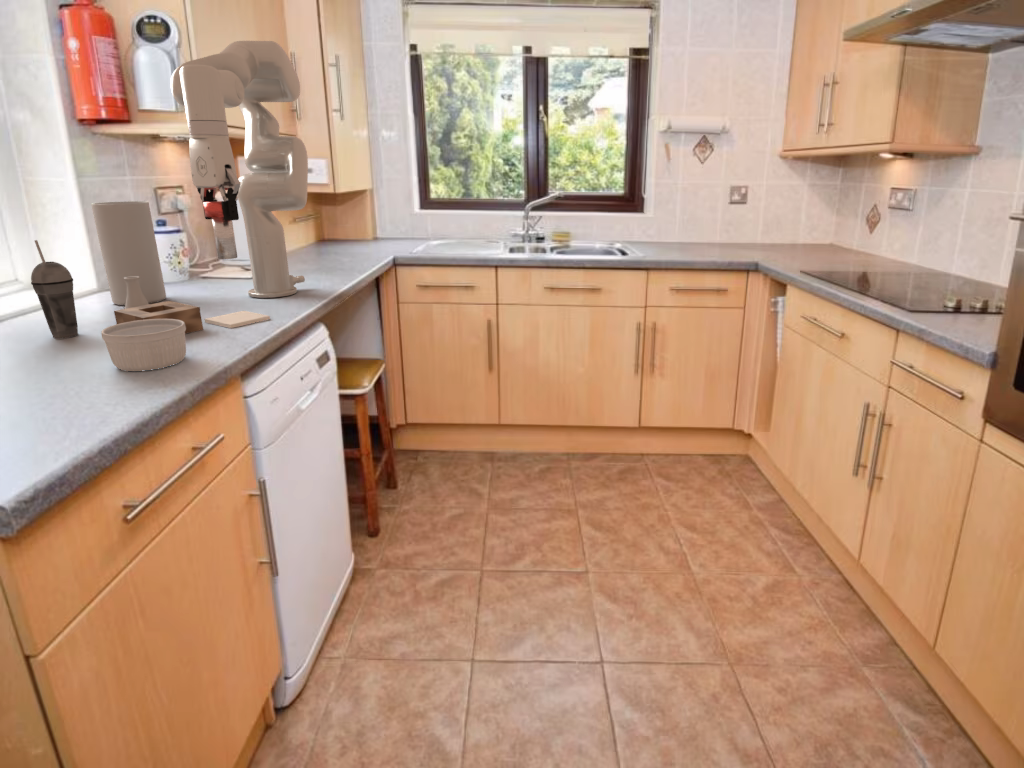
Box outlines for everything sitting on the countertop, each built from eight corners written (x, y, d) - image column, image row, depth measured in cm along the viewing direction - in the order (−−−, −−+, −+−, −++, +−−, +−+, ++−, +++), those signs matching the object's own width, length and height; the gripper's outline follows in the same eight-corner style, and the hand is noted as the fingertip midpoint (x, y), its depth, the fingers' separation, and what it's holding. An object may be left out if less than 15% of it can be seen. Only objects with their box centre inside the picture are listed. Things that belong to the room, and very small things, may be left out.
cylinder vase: (108, 308, 162) (86, 205, 154) (116, 298, 173) (96, 202, 164) (164, 303, 166) (145, 203, 158) (168, 294, 177) (151, 200, 169)
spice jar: (206, 258, 142) (197, 202, 138) (232, 255, 147) (224, 200, 143) (222, 260, 138) (213, 203, 135) (249, 257, 143) (241, 201, 139)
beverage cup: (93, 333, 137) (71, 238, 131) (56, 342, 131) (31, 242, 125) (74, 329, 141) (52, 236, 134) (38, 337, 135) (12, 240, 128)
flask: (149, 315, 154) (141, 273, 151) (163, 319, 150) (155, 276, 146) (117, 321, 149) (107, 277, 145) (130, 325, 144) (120, 281, 141)
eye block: (173, 322, 147) (169, 300, 145) (203, 329, 140) (199, 307, 138) (118, 333, 137) (113, 310, 136) (147, 342, 131) (142, 318, 129)
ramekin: (155, 350, 125) (148, 315, 123) (207, 357, 121) (201, 320, 119) (92, 370, 114) (83, 332, 111) (146, 378, 109) (138, 338, 107)
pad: (244, 313, 154) (243, 310, 154) (270, 319, 149) (269, 315, 148) (205, 322, 146) (204, 318, 146) (230, 328, 141) (230, 324, 141)
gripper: (168, 132, 136) (183, 219, 142) (215, 129, 127) (229, 222, 132) (202, 133, 142) (215, 216, 148) (249, 130, 132) (261, 219, 138)
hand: (221, 218), depth 140 cm, fingers closed on spice jar, 6 cm apart
